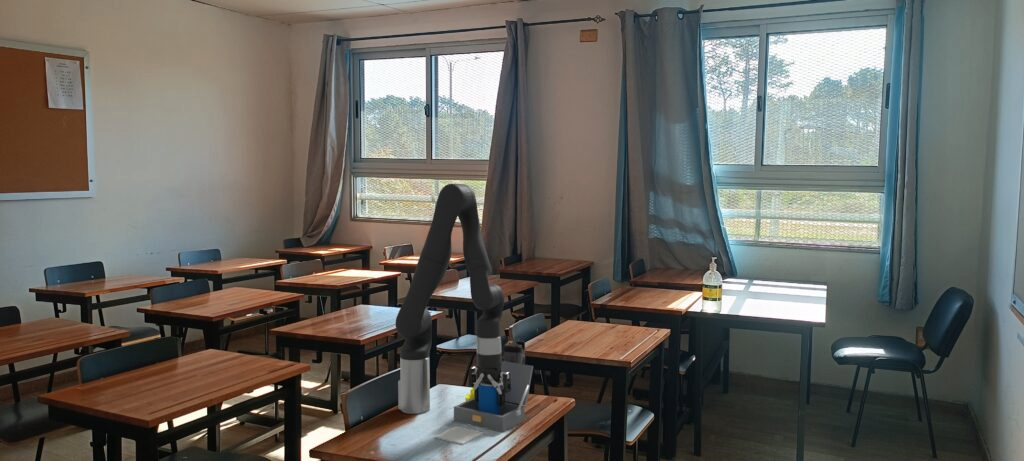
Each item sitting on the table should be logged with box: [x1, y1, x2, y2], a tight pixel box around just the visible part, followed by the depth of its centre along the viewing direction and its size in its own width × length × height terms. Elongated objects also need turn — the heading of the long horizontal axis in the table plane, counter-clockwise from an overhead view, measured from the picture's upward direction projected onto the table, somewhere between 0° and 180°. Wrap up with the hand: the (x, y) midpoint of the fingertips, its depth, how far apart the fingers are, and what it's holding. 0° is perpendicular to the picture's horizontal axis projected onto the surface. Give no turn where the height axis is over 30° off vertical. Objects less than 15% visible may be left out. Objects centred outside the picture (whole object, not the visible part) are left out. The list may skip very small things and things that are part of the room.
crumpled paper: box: [465, 387, 474, 402], centre depth 238 cm, size 6×8×8 cm
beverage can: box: [478, 381, 500, 415], centre depth 219 cm, size 6×6×12 cm
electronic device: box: [503, 339, 526, 405], centre depth 236 cm, size 9×6×20 cm, turn 168°
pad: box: [434, 425, 485, 446], centre depth 207 cm, size 10×10×1 cm
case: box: [453, 360, 534, 433], centre depth 220 cm, size 19×17×16 cm
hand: (489, 403), depth 219 cm, fingers open, 8 cm apart
